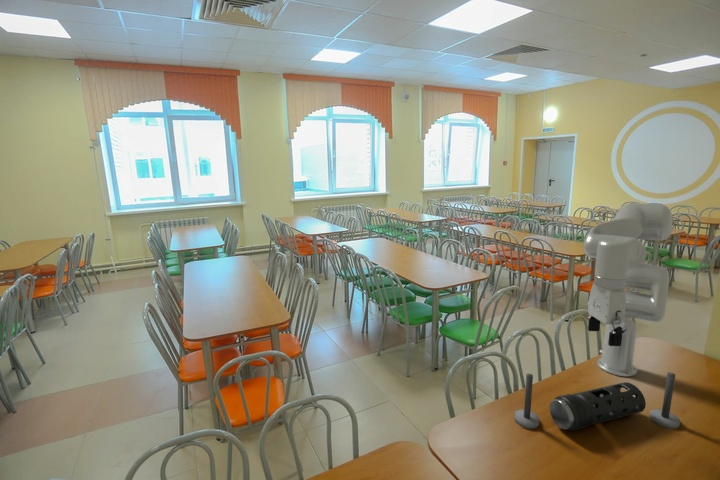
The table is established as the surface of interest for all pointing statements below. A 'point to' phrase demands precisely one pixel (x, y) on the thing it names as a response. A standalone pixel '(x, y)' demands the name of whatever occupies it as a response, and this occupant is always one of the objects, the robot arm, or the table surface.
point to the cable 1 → (527, 408)
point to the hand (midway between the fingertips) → (603, 337)
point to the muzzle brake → (596, 406)
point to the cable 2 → (666, 407)
